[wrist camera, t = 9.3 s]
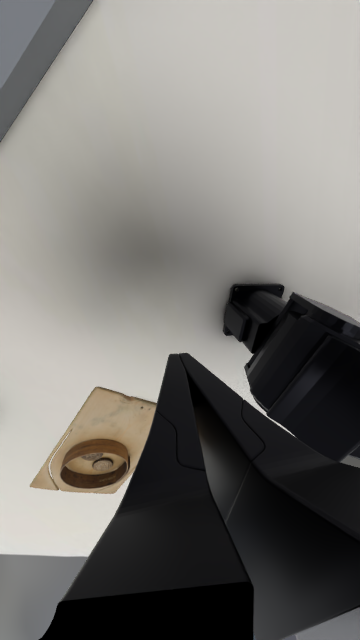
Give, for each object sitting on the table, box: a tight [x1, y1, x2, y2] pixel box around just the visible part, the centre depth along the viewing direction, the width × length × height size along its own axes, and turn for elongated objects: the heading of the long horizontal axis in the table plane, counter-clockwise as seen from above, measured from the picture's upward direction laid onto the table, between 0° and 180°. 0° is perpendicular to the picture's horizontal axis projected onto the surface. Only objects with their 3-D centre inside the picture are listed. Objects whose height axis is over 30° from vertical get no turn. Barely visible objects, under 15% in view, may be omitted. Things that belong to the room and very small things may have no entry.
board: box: [30, 387, 157, 494], centre depth 31 cm, size 25×15×3 cm, turn 145°
